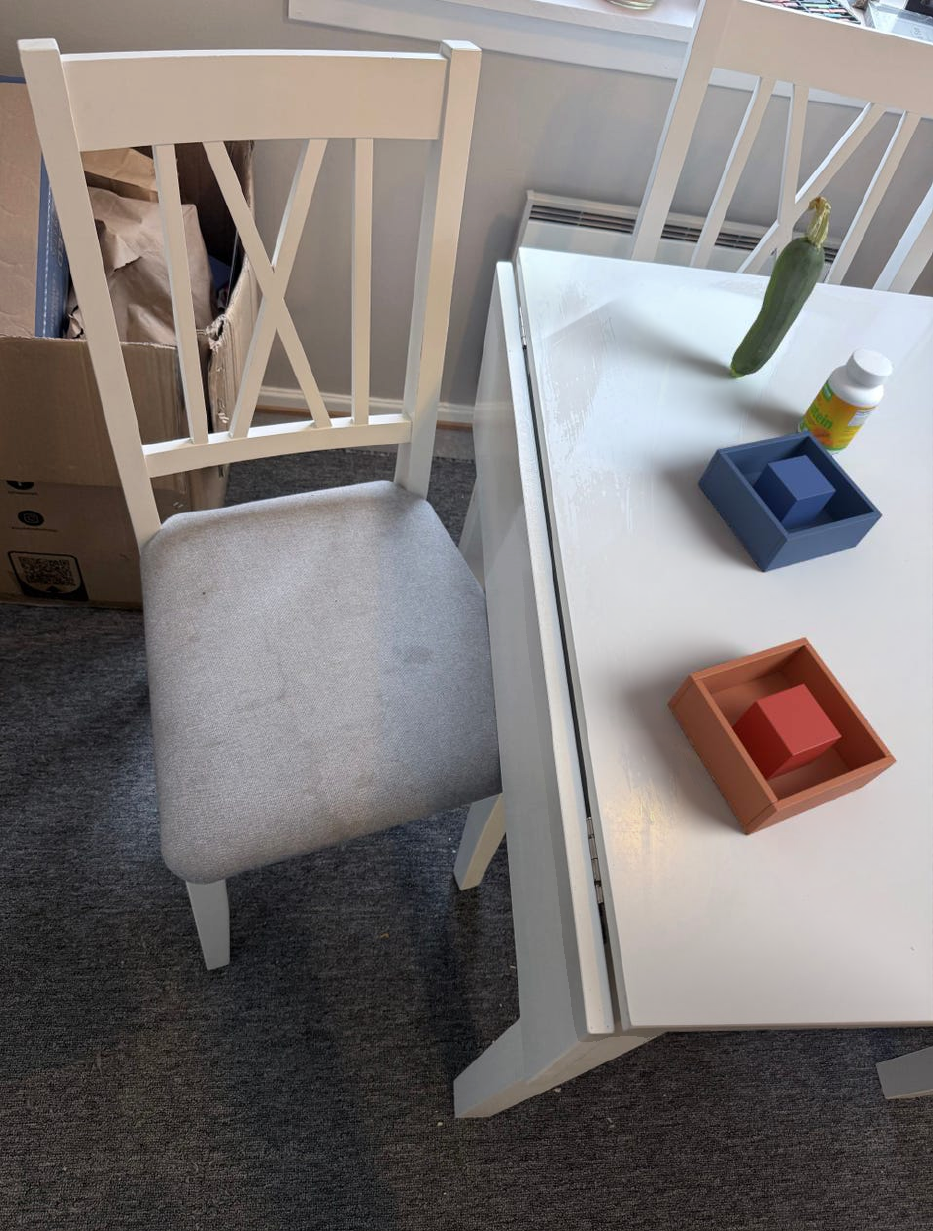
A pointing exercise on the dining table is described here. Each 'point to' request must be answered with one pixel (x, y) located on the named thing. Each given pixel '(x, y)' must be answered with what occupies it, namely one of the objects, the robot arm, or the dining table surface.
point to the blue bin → (758, 526)
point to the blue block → (793, 491)
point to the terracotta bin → (757, 804)
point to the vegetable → (785, 293)
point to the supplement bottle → (847, 400)
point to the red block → (785, 731)
